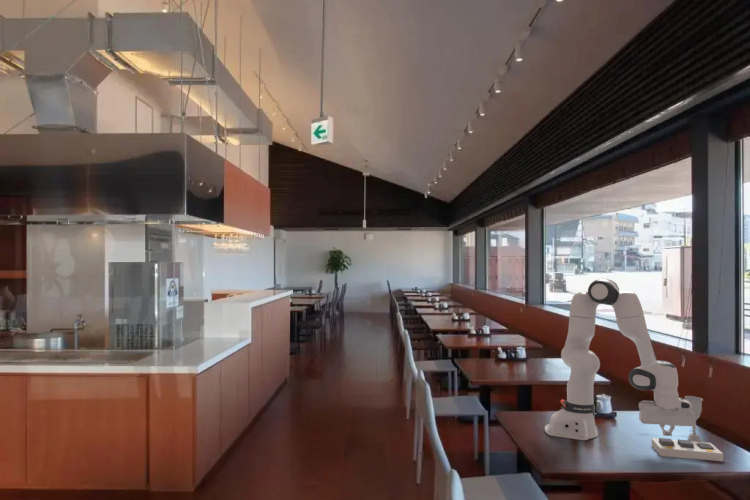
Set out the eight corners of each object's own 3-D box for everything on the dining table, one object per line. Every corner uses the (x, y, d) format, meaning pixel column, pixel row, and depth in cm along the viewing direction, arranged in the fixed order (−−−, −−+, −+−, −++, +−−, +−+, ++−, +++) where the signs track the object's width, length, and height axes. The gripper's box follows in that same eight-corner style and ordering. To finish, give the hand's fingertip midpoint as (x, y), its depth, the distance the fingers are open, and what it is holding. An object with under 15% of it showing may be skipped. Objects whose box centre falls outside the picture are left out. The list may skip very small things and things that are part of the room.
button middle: (681, 449, 200) (681, 443, 200) (677, 445, 205) (677, 439, 205) (693, 450, 199) (693, 444, 199) (689, 446, 203) (689, 440, 203)
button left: (662, 447, 202) (662, 441, 202) (659, 444, 206) (658, 437, 206) (674, 448, 201) (674, 442, 201) (670, 444, 205) (670, 438, 205)
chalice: (706, 443, 213) (706, 400, 213) (689, 442, 214) (688, 399, 215) (699, 437, 220) (698, 396, 220) (682, 436, 221) (681, 395, 222)
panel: (660, 455, 199) (660, 447, 199) (651, 445, 210) (651, 437, 210) (723, 461, 193) (723, 452, 193) (710, 450, 205) (710, 442, 205)
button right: (701, 453, 198) (701, 446, 199) (697, 449, 203) (697, 443, 203) (713, 454, 197) (713, 447, 197) (709, 450, 202) (709, 444, 202)
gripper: (640, 402, 204) (641, 436, 203) (696, 404, 199) (697, 439, 198) (636, 398, 210) (637, 431, 209) (690, 400, 205) (691, 434, 204)
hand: (667, 435), depth 204 cm, fingers closed
